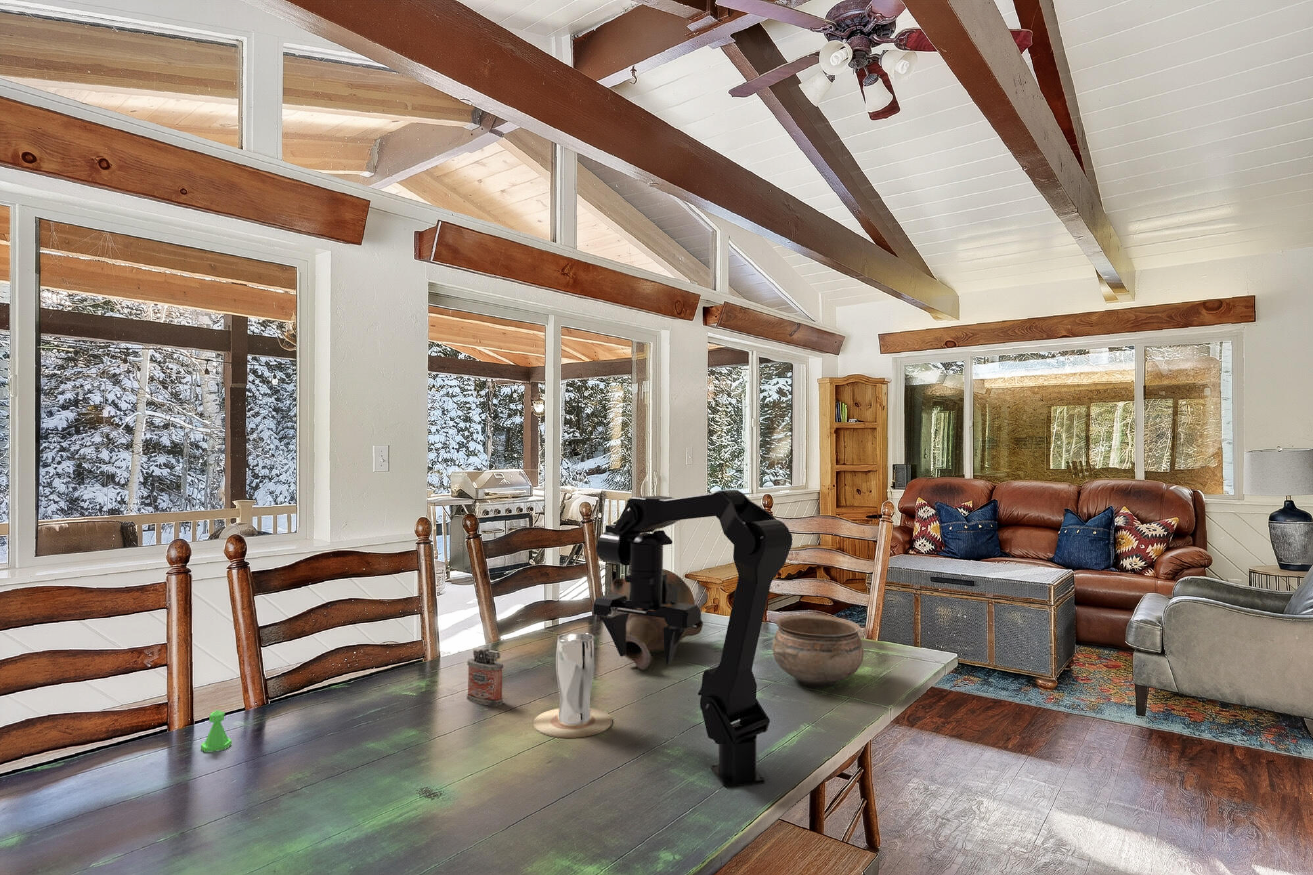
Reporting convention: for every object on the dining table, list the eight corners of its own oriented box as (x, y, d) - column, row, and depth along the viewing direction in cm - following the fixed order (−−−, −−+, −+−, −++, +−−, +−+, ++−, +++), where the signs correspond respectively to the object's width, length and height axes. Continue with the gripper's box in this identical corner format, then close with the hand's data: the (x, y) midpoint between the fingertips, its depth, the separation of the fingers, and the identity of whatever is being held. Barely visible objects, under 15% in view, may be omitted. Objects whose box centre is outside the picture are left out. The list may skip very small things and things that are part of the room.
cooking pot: (820, 661, 170) (820, 608, 170) (890, 682, 155) (890, 624, 155) (743, 681, 154) (744, 624, 155) (813, 707, 140) (814, 643, 140)
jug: (642, 634, 193) (597, 688, 165) (624, 563, 191) (575, 606, 163) (714, 625, 186) (680, 681, 158) (696, 552, 184) (658, 595, 156)
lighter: (462, 699, 142) (463, 648, 142) (474, 694, 145) (475, 644, 145) (495, 707, 138) (495, 654, 138) (506, 701, 141) (507, 649, 141)
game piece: (198, 754, 116) (199, 716, 116) (202, 744, 120) (203, 707, 120) (230, 749, 118) (230, 712, 118) (232, 740, 122) (233, 704, 122)
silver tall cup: (587, 729, 126) (588, 643, 127) (549, 726, 128) (550, 640, 128) (598, 715, 133) (599, 633, 133) (562, 712, 135) (563, 630, 135)
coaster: (619, 733, 126) (619, 731, 126) (537, 741, 122) (537, 739, 122) (603, 705, 139) (603, 703, 139) (530, 711, 136) (530, 709, 136)
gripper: (715, 567, 128) (714, 657, 127) (625, 558, 137) (624, 641, 137) (685, 577, 118) (684, 673, 118) (591, 566, 127) (590, 656, 127)
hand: (645, 660), depth 125 cm, fingers open, 9 cm apart
